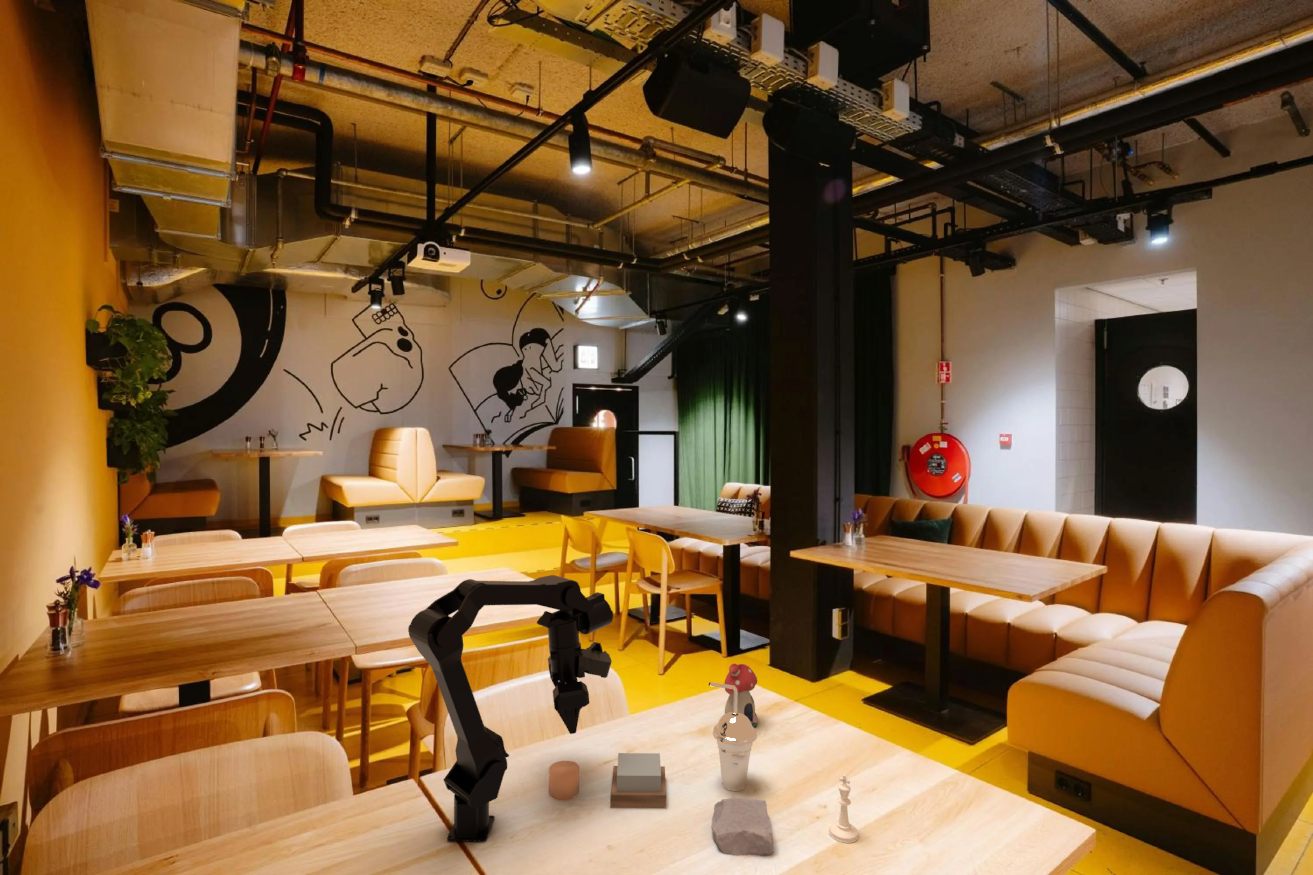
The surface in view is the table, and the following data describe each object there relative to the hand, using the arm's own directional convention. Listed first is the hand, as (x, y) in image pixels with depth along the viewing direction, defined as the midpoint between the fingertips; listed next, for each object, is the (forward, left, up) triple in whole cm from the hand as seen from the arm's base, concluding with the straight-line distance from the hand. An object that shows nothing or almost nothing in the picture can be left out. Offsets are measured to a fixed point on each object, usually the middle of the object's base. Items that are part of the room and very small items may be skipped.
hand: (570, 720), depth 126 cm
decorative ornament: (+25, -36, -12) cm, 46 cm away
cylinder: (-3, +1, -12) cm, 12 cm away
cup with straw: (0, -31, -12) cm, 33 cm away
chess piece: (-15, -48, -12) cm, 52 cm away
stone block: (-15, -31, -13) cm, 36 cm away
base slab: (-3, -13, -13) cm, 19 cm away
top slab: (-3, -13, -10) cm, 17 cm away
